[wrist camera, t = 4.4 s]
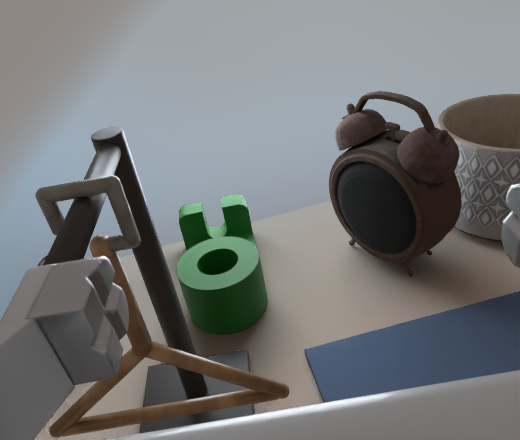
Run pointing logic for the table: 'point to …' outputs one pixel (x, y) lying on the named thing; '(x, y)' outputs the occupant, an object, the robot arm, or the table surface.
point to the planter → (485, 159)
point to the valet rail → (147, 286)
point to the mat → (422, 351)
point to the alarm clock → (394, 182)
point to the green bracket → (221, 268)
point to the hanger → (141, 331)
